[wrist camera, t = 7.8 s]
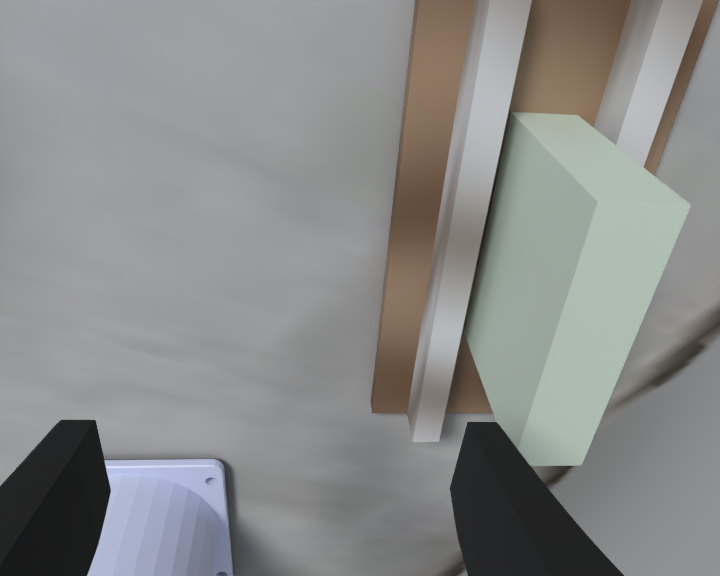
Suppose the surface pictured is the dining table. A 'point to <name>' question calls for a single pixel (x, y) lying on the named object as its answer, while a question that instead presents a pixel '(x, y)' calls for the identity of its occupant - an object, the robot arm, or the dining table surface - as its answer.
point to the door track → (484, 150)
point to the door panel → (564, 280)
